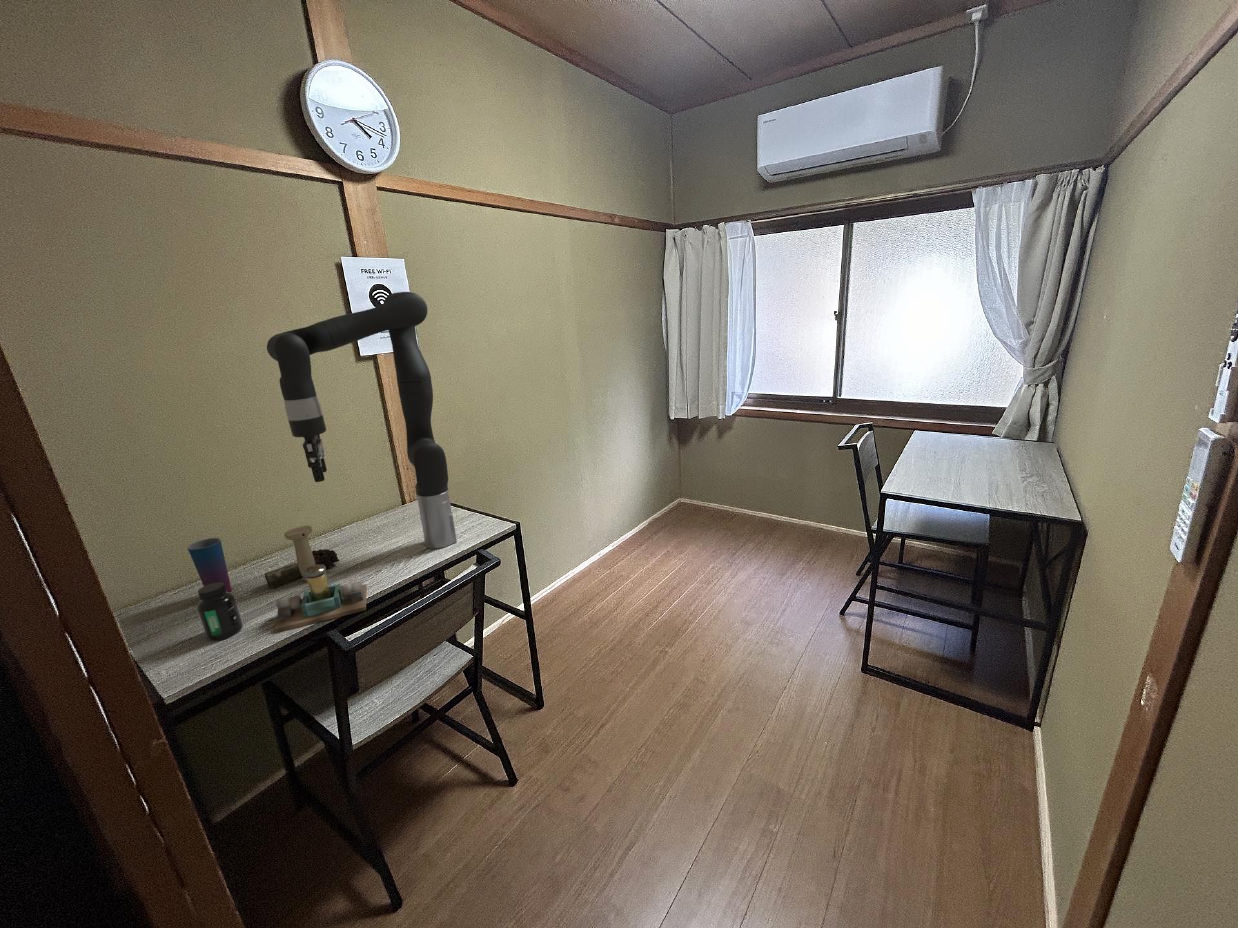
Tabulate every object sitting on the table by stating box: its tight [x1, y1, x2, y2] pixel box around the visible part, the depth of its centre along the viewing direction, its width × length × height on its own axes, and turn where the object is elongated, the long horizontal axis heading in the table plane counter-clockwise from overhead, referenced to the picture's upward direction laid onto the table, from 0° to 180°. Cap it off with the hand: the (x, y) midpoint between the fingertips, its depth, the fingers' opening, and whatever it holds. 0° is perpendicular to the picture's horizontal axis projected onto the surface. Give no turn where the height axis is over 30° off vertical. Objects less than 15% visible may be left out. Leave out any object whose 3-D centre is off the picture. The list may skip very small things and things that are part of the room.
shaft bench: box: [274, 580, 368, 633], centre depth 125 cm, size 19×12×5 cm, turn 115°
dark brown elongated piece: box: [263, 548, 340, 590], centre depth 143 cm, size 18×7×6 cm, turn 135°
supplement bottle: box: [196, 582, 244, 642], centre depth 116 cm, size 7×7×12 cm
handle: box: [283, 525, 315, 583], centre depth 138 cm, size 5×6×15 cm
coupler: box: [304, 565, 332, 602], centre depth 124 cm, size 5×5×10 cm
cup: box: [187, 537, 232, 593], centre depth 133 cm, size 7×7×15 cm
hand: (321, 476), depth 131 cm, fingers open, 8 cm apart
